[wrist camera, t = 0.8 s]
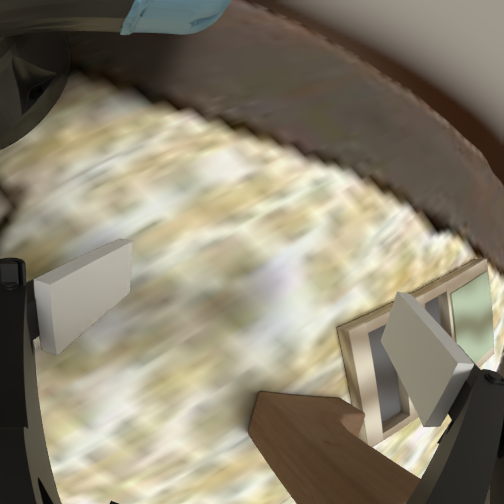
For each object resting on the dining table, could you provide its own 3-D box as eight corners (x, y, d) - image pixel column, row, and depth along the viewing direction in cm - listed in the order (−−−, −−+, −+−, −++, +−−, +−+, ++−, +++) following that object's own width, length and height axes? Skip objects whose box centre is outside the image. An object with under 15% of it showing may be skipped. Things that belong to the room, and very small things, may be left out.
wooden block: (341, 397, 29) (485, 473, 12) (329, 436, 28) (455, 528, 11) (257, 389, 27) (386, 510, 9) (245, 433, 26) (348, 571, 9)
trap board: (336, 327, 29) (350, 331, 27) (475, 259, 36) (488, 258, 34) (358, 442, 29) (370, 450, 27) (483, 351, 36) (495, 353, 34)
